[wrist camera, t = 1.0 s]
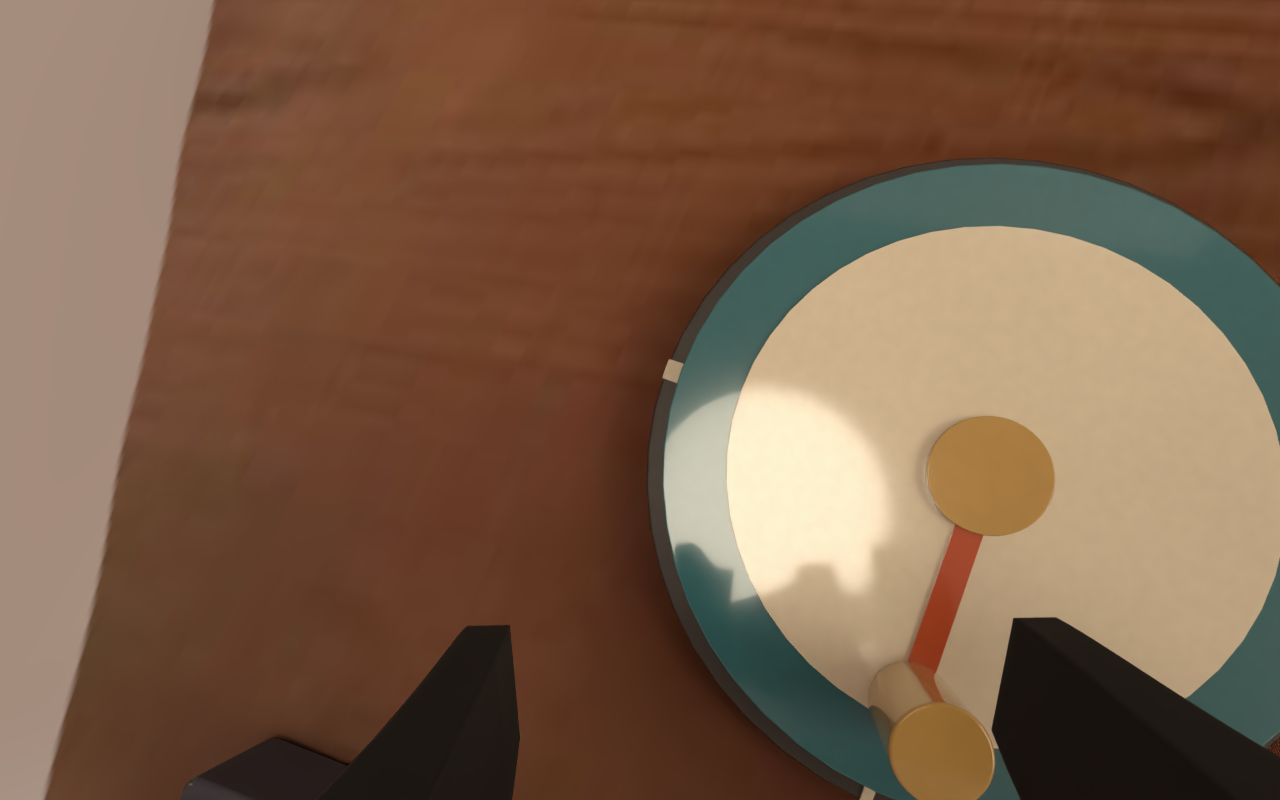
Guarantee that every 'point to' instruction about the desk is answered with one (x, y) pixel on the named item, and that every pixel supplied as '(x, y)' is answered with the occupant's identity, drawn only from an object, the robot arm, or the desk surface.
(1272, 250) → the desk surface
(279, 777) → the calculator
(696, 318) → the stand
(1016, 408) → the turntable with peg
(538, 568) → the desk surface
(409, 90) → the desk surface
